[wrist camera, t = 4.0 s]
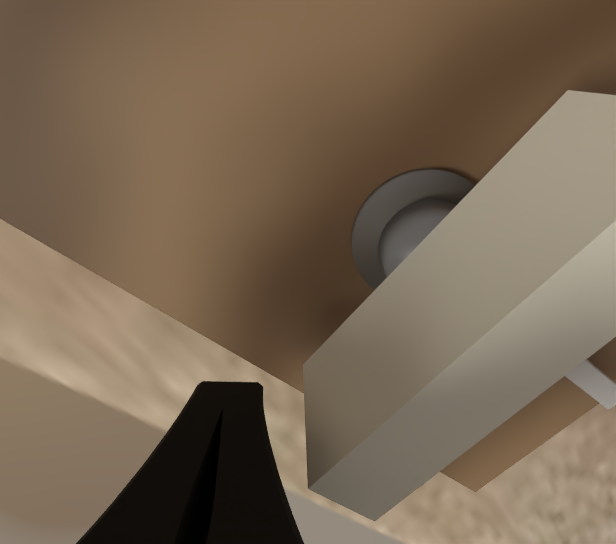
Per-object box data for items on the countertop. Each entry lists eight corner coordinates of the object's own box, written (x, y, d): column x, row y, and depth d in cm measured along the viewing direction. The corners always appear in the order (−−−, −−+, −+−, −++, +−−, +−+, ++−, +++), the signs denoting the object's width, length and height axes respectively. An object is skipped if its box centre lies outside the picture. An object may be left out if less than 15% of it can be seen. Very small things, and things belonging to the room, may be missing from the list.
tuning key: (731, 301, 12) (976, 435, 7) (506, 463, 14) (594, 628, 10) (521, 73, 9) (727, 85, 5) (290, 328, 11) (290, 480, 7)
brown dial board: (898, 136, 12) (977, 146, 10) (463, 464, 17) (478, 499, 15) (342, -859, 5) (358, -1161, 4) (-65, 148, 11) (-116, 161, 9)
